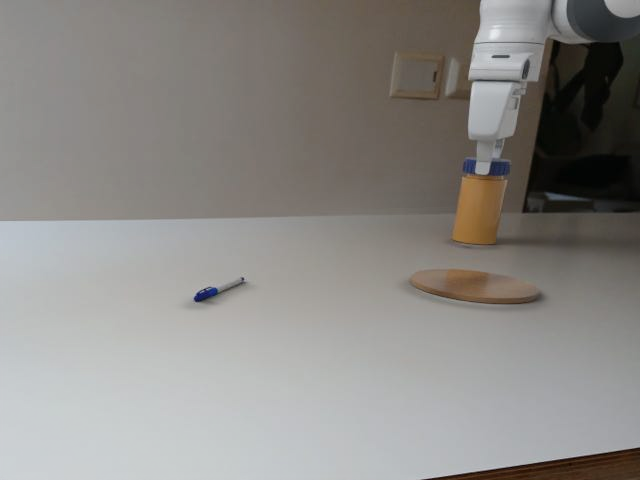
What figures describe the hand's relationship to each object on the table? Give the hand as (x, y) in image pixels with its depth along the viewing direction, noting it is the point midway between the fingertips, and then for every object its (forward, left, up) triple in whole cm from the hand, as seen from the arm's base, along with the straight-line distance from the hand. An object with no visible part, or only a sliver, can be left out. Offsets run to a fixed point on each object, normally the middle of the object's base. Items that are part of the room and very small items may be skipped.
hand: (486, 172), depth 105 cm
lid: (0, 0, +1) cm, 1 cm away
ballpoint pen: (+8, +52, -10) cm, 54 cm away
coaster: (-10, +30, -10) cm, 33 cm away
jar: (0, 0, -10) cm, 10 cm away
